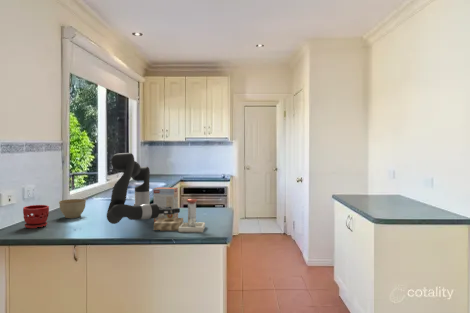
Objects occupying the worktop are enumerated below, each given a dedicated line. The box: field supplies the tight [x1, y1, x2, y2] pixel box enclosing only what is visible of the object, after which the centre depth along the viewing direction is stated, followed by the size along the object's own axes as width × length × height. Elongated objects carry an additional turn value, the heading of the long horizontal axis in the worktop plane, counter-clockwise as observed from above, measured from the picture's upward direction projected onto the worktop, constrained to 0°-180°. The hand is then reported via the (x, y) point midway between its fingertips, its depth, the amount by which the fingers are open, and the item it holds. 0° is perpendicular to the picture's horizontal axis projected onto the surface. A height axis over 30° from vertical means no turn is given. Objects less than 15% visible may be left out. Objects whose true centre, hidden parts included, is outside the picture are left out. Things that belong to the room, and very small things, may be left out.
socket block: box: [153, 217, 184, 231], centre depth 201 cm, size 14×14×4 cm
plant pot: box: [22, 204, 50, 229], centre depth 205 cm, size 13×13×12 cm
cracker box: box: [153, 186, 179, 223], centre depth 217 cm, size 14×6×21 cm, turn 74°
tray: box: [178, 221, 206, 233], centre depth 196 cm, size 13×13×2 cm
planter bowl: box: [58, 198, 87, 219], centre depth 233 cm, size 16×16×11 cm
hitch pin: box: [186, 198, 198, 227], centre depth 196 cm, size 6×6×16 cm
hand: (175, 209), depth 190 cm, fingers open, 8 cm apart
